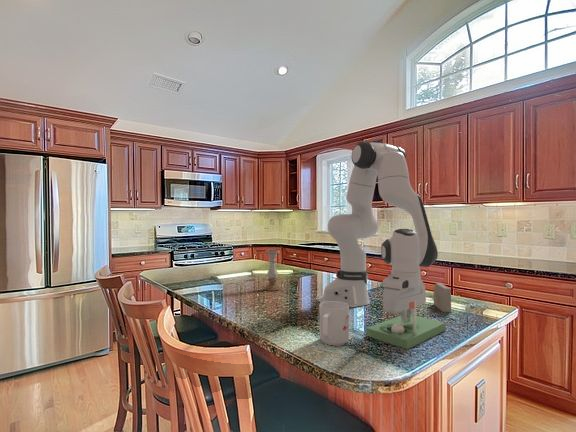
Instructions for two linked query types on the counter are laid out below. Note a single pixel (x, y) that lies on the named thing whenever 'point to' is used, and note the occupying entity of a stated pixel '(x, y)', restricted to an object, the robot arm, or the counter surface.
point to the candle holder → (272, 272)
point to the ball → (397, 328)
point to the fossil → (442, 297)
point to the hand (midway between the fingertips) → (405, 322)
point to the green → (406, 330)
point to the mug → (334, 322)
